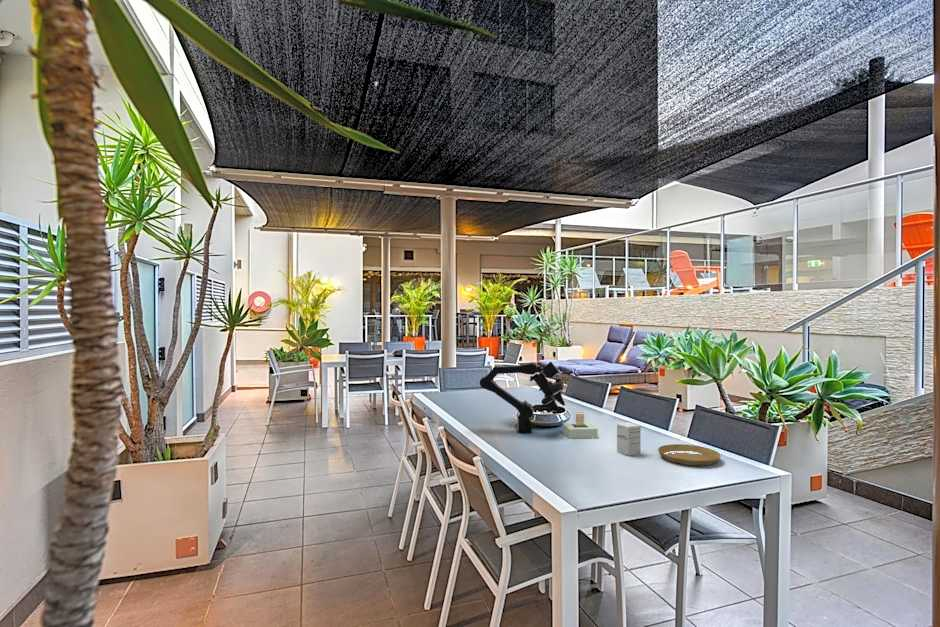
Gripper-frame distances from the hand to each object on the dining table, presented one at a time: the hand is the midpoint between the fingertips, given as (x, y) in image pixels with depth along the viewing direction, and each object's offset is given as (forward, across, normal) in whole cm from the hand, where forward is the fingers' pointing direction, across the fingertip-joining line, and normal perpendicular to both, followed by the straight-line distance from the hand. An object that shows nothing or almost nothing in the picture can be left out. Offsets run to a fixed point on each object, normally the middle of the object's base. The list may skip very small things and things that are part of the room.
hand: (562, 408), depth 249 cm
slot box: (+16, -1, 0) cm, 16 cm away
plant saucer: (+43, -21, -42) cm, 64 cm away
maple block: (+16, -1, 0) cm, 16 cm away
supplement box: (+28, -22, -23) cm, 43 cm away
